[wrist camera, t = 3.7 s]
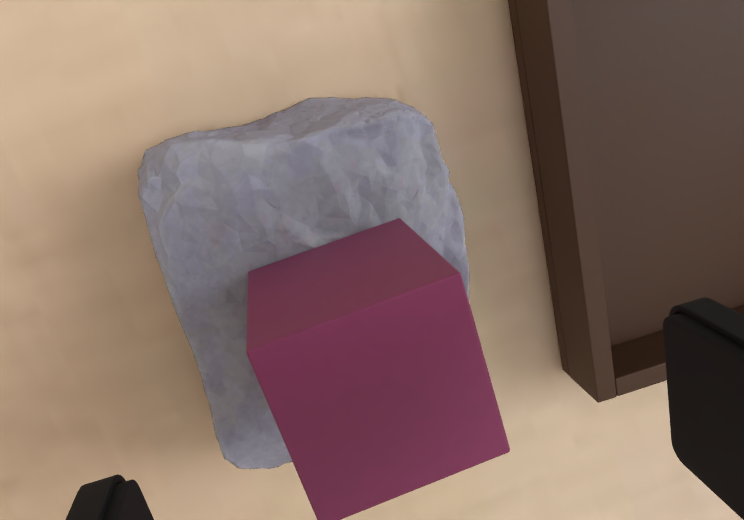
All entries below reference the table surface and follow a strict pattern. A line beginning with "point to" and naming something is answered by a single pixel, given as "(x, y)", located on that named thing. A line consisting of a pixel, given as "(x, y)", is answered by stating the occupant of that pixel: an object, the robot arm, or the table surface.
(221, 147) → the stone block
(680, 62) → the tray
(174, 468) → the table surface
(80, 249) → the table surface
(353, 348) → the pink block
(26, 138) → the table surface
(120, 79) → the table surface
